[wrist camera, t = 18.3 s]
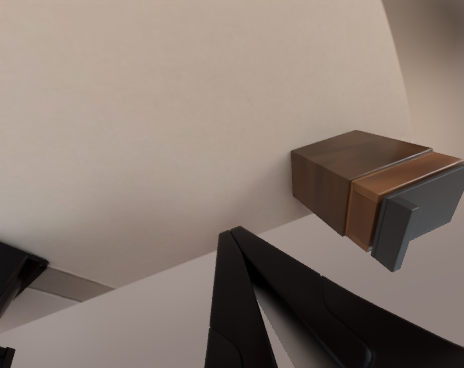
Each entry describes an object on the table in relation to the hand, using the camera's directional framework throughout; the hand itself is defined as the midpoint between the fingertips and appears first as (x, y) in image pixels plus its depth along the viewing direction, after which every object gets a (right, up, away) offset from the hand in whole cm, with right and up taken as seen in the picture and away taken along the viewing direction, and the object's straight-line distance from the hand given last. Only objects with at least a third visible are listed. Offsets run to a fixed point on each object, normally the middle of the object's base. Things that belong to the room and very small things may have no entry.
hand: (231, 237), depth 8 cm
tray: (+14, +1, +10) cm, 17 cm away
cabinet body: (+11, +4, +17) cm, 21 cm away
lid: (+15, 0, +8) cm, 17 cm away
